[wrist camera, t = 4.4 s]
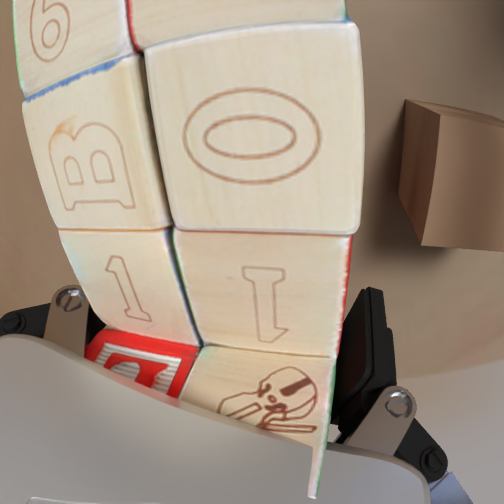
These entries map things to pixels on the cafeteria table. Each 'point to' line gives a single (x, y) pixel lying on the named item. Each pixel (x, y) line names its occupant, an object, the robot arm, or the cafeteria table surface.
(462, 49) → the cafeteria table surface
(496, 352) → the cafeteria table surface
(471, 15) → the cafeteria table surface
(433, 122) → the walnut cube
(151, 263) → the stack of blocks
